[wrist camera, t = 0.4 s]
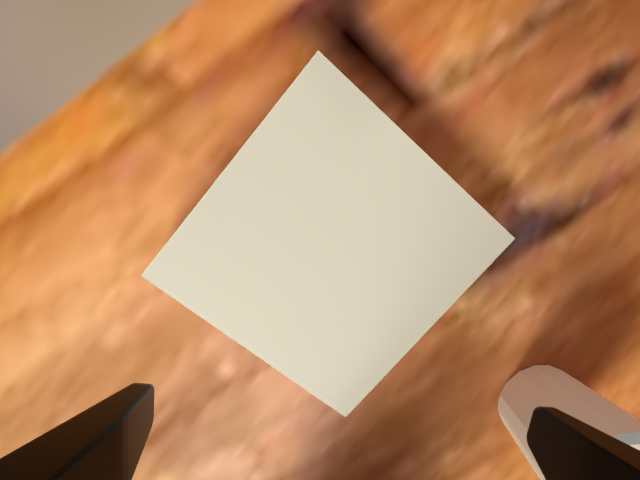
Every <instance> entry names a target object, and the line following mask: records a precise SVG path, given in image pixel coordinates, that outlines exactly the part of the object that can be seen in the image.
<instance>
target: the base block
mask: <svg viewBox="0 0 640 480" xmlns="http://www.w3.org/2000/svg"><path fill="white" fill-rule="evenodd" d="M514 239H515V238H514V237H513V236H512V235H511V234H510V233H509V232H508V231H507V230H506V229H505V228H504V227H503V226H501V225H500V224H499V223H498V222H497V221H496V220H495V219H494V218H493V217H492V216H491V215H490V214H489V213H488V212H487V211H486V210H485V209H484V208H483V207H482V206H481V205H480V204H478V203H477V202H476V201H475V200H474V199H473V198H472V197H471V196H470V195H469V194H468V193H467V192H466V191H465V190H464V189H463V188H462V187H461V186H460V185H459V184H458V183H457V182H455V181H454V180H453V179H452V178H451V177H450V176H449V175H448V174H447V173H446V172H445V171H444V170H443V169H442V168H441V167H440V166H439V165H438V164H437V163H436V162H435V161H434V160H432V159H431V158H430V157H429V156H428V155H427V154H426V153H425V152H424V151H423V150H422V149H421V148H420V147H419V146H418V145H417V144H416V143H415V142H414V141H413V140H412V139H411V138H409V137H408V136H407V135H406V134H405V133H404V132H403V131H402V130H401V129H400V128H399V127H398V126H397V125H396V124H395V123H394V122H393V121H392V120H391V119H390V118H389V117H388V116H386V115H385V114H384V113H383V112H382V111H381V110H380V109H379V108H378V107H377V106H376V105H375V104H374V103H373V102H372V101H371V100H370V99H369V98H368V97H367V96H366V95H365V94H363V93H362V92H361V91H360V90H359V89H358V88H357V87H356V86H355V85H354V84H353V83H352V82H351V81H350V80H349V79H348V78H347V77H346V76H345V75H344V74H343V73H342V72H340V71H339V70H338V69H337V68H336V67H335V66H334V65H333V64H332V63H331V62H330V61H329V60H328V59H327V58H326V57H325V56H324V55H323V54H322V53H321V52H320V51H319V50H318V51H317V52H316V54H315V55H314V56H313V57H312V59H311V60H310V61H309V62H308V64H307V65H306V66H305V68H304V69H303V70H302V71H301V73H300V74H299V75H298V76H297V78H296V79H295V80H294V82H293V83H292V84H291V85H290V87H289V88H288V89H287V90H286V92H285V93H284V94H283V96H282V97H281V98H280V99H279V101H278V102H277V103H276V104H275V106H274V107H273V108H272V110H271V111H270V112H269V113H268V115H267V116H266V117H265V118H264V120H263V121H262V122H261V124H260V125H259V126H258V127H257V129H256V130H255V131H254V132H253V134H252V135H251V136H250V138H249V139H248V140H247V141H246V143H245V144H244V145H243V146H242V148H241V149H240V150H239V152H238V153H237V154H236V155H235V157H234V158H233V159H232V160H231V162H230V163H229V164H228V165H227V167H226V168H225V169H224V171H223V172H222V173H221V174H220V176H219V177H218V178H217V179H216V181H215V182H214V183H213V185H212V186H211V187H210V188H209V190H208V191H207V192H206V193H205V195H204V196H203V197H202V199H201V200H200V201H199V202H198V204H197V205H196V206H195V207H194V209H193V210H192V211H191V213H190V214H189V215H188V216H187V218H186V219H185V220H184V221H183V223H182V224H181V225H180V227H179V228H178V229H177V230H176V232H175V233H174V234H173V235H172V237H171V238H170V239H169V241H168V242H167V243H166V244H165V246H164V247H163V248H162V249H161V251H160V252H159V253H158V255H157V256H156V257H155V258H154V260H153V261H152V262H151V263H150V265H149V266H148V267H147V269H146V270H145V271H144V272H143V274H142V275H141V276H142V277H144V278H145V279H146V280H148V281H149V282H151V283H152V284H154V285H155V286H157V287H158V288H159V289H161V290H162V291H164V292H165V293H167V294H168V295H170V296H171V297H172V298H174V299H175V300H177V301H178V302H180V303H181V304H183V305H184V306H185V307H187V308H188V309H190V310H191V311H193V312H194V313H196V314H197V315H198V316H200V317H201V318H203V319H204V320H206V321H207V322H209V323H210V324H211V325H213V326H214V327H216V328H217V329H219V330H220V331H222V332H223V333H224V334H226V335H227V336H229V337H230V338H232V339H233V340H235V341H236V342H237V343H239V344H240V345H242V346H243V347H245V348H246V349H248V350H249V351H250V352H252V353H253V354H255V355H256V356H258V357H259V358H261V359H262V360H263V361H265V362H266V363H268V364H269V365H271V366H272V367H274V368H275V369H276V370H278V371H279V372H281V373H282V374H284V375H285V376H287V377H288V378H289V379H291V380H292V381H294V382H295V383H297V384H298V385H300V386H301V387H303V388H304V389H305V390H307V391H308V392H310V393H311V394H313V395H314V396H316V397H317V398H318V399H320V400H321V401H323V402H324V403H326V404H327V405H329V406H330V407H331V408H333V409H334V410H336V411H337V412H339V413H340V414H342V415H343V416H344V417H346V416H347V415H348V414H349V413H350V412H351V411H352V410H353V409H354V408H355V407H356V406H357V405H358V404H359V403H360V402H361V401H362V399H363V398H364V397H365V396H366V395H367V394H368V393H369V392H370V391H371V390H372V389H373V388H374V387H375V386H376V385H377V384H378V383H379V382H380V380H381V379H382V378H383V377H384V376H385V375H386V374H387V373H388V372H389V371H390V370H391V369H392V368H393V367H394V366H395V365H396V364H397V363H398V362H399V360H400V359H401V358H402V357H403V356H404V355H405V354H406V353H407V352H408V351H409V350H410V349H411V348H412V347H413V346H414V345H415V344H416V343H417V341H418V340H419V339H420V338H421V337H422V336H423V335H424V334H425V333H426V332H427V331H428V330H429V329H430V328H431V327H432V326H433V325H434V324H435V322H436V321H437V320H438V319H439V318H440V317H441V316H442V315H443V314H444V313H445V312H446V311H447V310H448V309H449V308H450V307H451V306H452V305H453V304H454V302H455V301H456V300H457V299H458V298H459V297H460V296H461V295H462V294H463V293H464V292H465V291H466V290H467V289H468V288H469V287H470V286H471V285H472V283H473V282H474V281H475V280H476V279H477V278H478V277H479V276H480V275H481V274H482V273H483V272H484V271H485V270H486V269H487V268H488V267H489V266H490V264H491V263H492V262H493V261H494V260H495V259H496V258H497V257H498V256H499V255H500V254H501V253H502V252H503V251H504V250H505V249H506V248H507V247H508V246H509V244H510V243H511V242H512V241H513V240H514Z"/></svg>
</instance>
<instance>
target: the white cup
mask: <svg viewBox="0 0 640 480" xmlns="http://www.w3.org/2000/svg"><path fill="white" fill-rule="evenodd" d="M538 406H543V407H554V408H556V409H558V410H560V411H562V412H564V413H566V414H568V415H570V416H572V417H574V418H576V419H578V420H580V421H582V422H584V423H586V424H588V425H590V426H592V427H594V428H596V429H598V430H600V431H602V432H604V433H606V434H608V435H610V436H612V437H614V438H616V439H618V440H620V441H622V442H624V443H626V444H628V445H630V446H632V447H634V448H636V449H638V450H640V420H639V419H637V418H636V417H634V416H633V415H631V414H629V413H628V412H626V411H625V410H623V409H622V408H620V407H618V406H617V405H615V404H614V403H612V402H611V401H609V400H608V399H606V398H604V397H603V396H601V395H600V394H598V393H597V392H595V391H594V390H592V389H590V388H589V387H587V386H586V385H584V384H583V383H581V382H580V381H578V380H576V379H575V378H573V377H572V376H570V375H569V374H567V373H566V372H564V371H562V370H560V369H558V368H555V367H553V366H550V365H534V366H531V367H529V368H526V369H524V370H521V371H519V372H518V373H517V374H515V375H514V376H513V377H512V378H511V379H509V380H508V381H507V383H506V384H505V386H504V388H503V389H502V391H501V393H500V394H499V401H498V407H497V408H498V411H499V414H500V418H501V420H502V422H503V423H504V425H505V426H506V428H507V429H508V431H509V432H510V434H511V436H512V437H513V439H514V440H515V442H516V443H517V445H518V446H519V448H520V449H521V451H522V452H523V454H524V456H525V457H526V459H527V460H528V462H529V463H530V465H531V466H532V468H533V469H534V471H535V472H536V474H537V476H538V477H539V479H540V480H546V479H545V477H544V475H543V473H542V471H541V470H540V468H539V466H538V464H537V462H536V460H535V458H534V456H533V454H532V452H531V450H530V448H529V446H528V443H527V431H528V427H529V424H530V420H531V417H532V413H533V410H534V409H535V408H536V407H538Z"/></svg>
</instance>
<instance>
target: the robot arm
mask: <svg viewBox="0 0 640 480" xmlns="http://www.w3.org/2000/svg"><path fill="white" fill-rule="evenodd" d="M153 417H154V387H153V385H152V384H145V383H133V384H131V385H129V386H127V387H125V388H124V389H122V390H120V391H118V392H117V393H115V394H113V395H111V396H110V397H108V398H106V399H104V400H103V401H101V402H99V403H97V404H96V405H94V406H92V407H90V408H88V409H87V410H85V411H83V412H81V413H80V414H78V415H76V416H74V417H73V418H71V419H69V420H67V421H66V422H64V423H62V424H60V425H59V426H57V427H55V428H53V429H52V430H50V431H48V432H46V433H44V434H43V435H41V436H39V437H37V438H36V439H34V440H32V441H30V442H29V443H27V444H25V445H23V446H22V447H20V448H18V449H16V450H15V451H13V452H11V453H9V454H7V455H6V456H4V457H2V458H0V480H132V477H133V474H134V472H135V469H136V467H137V464H138V461H139V459H140V456H141V454H142V451H143V448H144V446H145V443H146V441H147V438H148V435H149V433H150V430H151V427H152V423H153ZM527 443H528V446H529V448H530V450H531V452H532V454H533V456H534V458H535V460H536V462H537V464H538V466H539V468H540V470H541V471H542V473H543V475H544V477H545V479H546V480H640V450H638V449H636V448H634V447H632V446H630V445H628V444H626V443H624V442H622V441H620V440H618V439H616V438H614V437H612V436H610V435H608V434H606V433H604V432H602V431H600V430H598V429H596V428H594V427H592V426H590V425H588V424H586V423H584V422H582V421H580V420H578V419H576V418H574V417H572V416H570V415H568V414H566V413H564V412H562V411H560V410H558V409H556V408H554V407H543V406H538V407H536V408H535V409H534V410H533V413H532V417H531V420H530V424H529V427H528V431H527Z"/></svg>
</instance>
